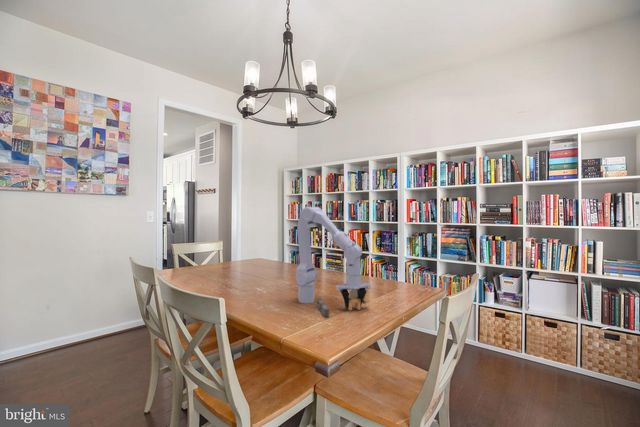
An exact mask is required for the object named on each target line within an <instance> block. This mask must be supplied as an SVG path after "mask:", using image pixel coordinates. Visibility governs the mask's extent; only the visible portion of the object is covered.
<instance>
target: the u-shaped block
mask: <svg viewBox="0 0 640 427" xmlns="http://www.w3.org/2000/svg"><path fill="white" fill-rule="evenodd" d="M348 303H349V306H348V308H346V309H347V310H348V311H352V310H353V303H354V308H355V309H356V310H358V311H359V310H361V308H362V305H361V299H360V298H358V297H350V296H349V299H348Z"/></svg>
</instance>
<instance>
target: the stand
mask: <svg viewBox="0 0 640 427" xmlns="http://www.w3.org/2000/svg"><path fill="white" fill-rule="evenodd" d="M316 300H317V301H316V306H317V308H318V309H319V311H320V312H321V314H322V316H323V318H324V319H330V310H329V308H328V306H327V305H326V304H325V303H324V302H323V300H322V299H321V298H317V299H316Z"/></svg>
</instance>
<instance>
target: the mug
mask: <svg viewBox="0 0 640 427" xmlns="http://www.w3.org/2000/svg"><path fill="white" fill-rule="evenodd" d="M349 297H358V293H357V289H354V290H349ZM365 298H366V295H365V296H364V298H363V301H364V300H365Z"/></svg>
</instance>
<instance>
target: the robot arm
mask: <svg viewBox="0 0 640 427" xmlns="http://www.w3.org/2000/svg"><path fill="white" fill-rule="evenodd" d="M297 221H298V222H297V224H296V227H297V243H298V254H299V258H298V259H299V264H298V265H297V268H296V274H295V277H294V278H295V282H296V283H297V286H298V292H297V293H298V294H297V298H298V303H301V304H312V303H314V302H315V283H316V280H317V279H318V273H317V271H316V266H315V264H314V263H313V261H312V246H311V233H310V229H311V228H312V226H313V225H314V224H315V223H316V224H320V225H322V226H323V227H324V228H325V230H326V231H327V232H329V233H330V235H331V236H332V238H333V242H334V243H335V244H336V245H337V247H339V248H340V249H341V251H342V252H343V256H344V258H345V260H346V264H345V265H346V267H345V268H346V269H345V272H346V275H345V276H346V279H345V282H346V283H342V284H336V285H335V291H337V292H340V293H341V296H342V298H343V302H344V306H345V309H347V308H348V306H349V303H348V299H349V297H350V292H349V291H351V290H354V289H357V293H358V298H360V299H361V306H362V305H363V301H364V300H363V298H364V296H365V297H366V294H367V292H368V291H367V290H371V284H370V283H367V282H365V283H364V282H363V283H362V282H361V257H362V254H363V249H362V247H361V245H360V244H357V243H356V242H355V241H353V240H352V239H351V238H350V237H349V236H348V235H349V234H348V233H347V232H345V231H341V230H339V229H338V228H337V227H336V225H335V224H334V222H332V220H331V219H330V218H329V216H328V215H327V213H326V211H324V210H323V208H321V207H319V206H315V207H314V206H313V207H311V206H305V207H303V208H302V209H301V210H300V212H299V218H298V220H297ZM364 299H365V298H364Z"/></svg>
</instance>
